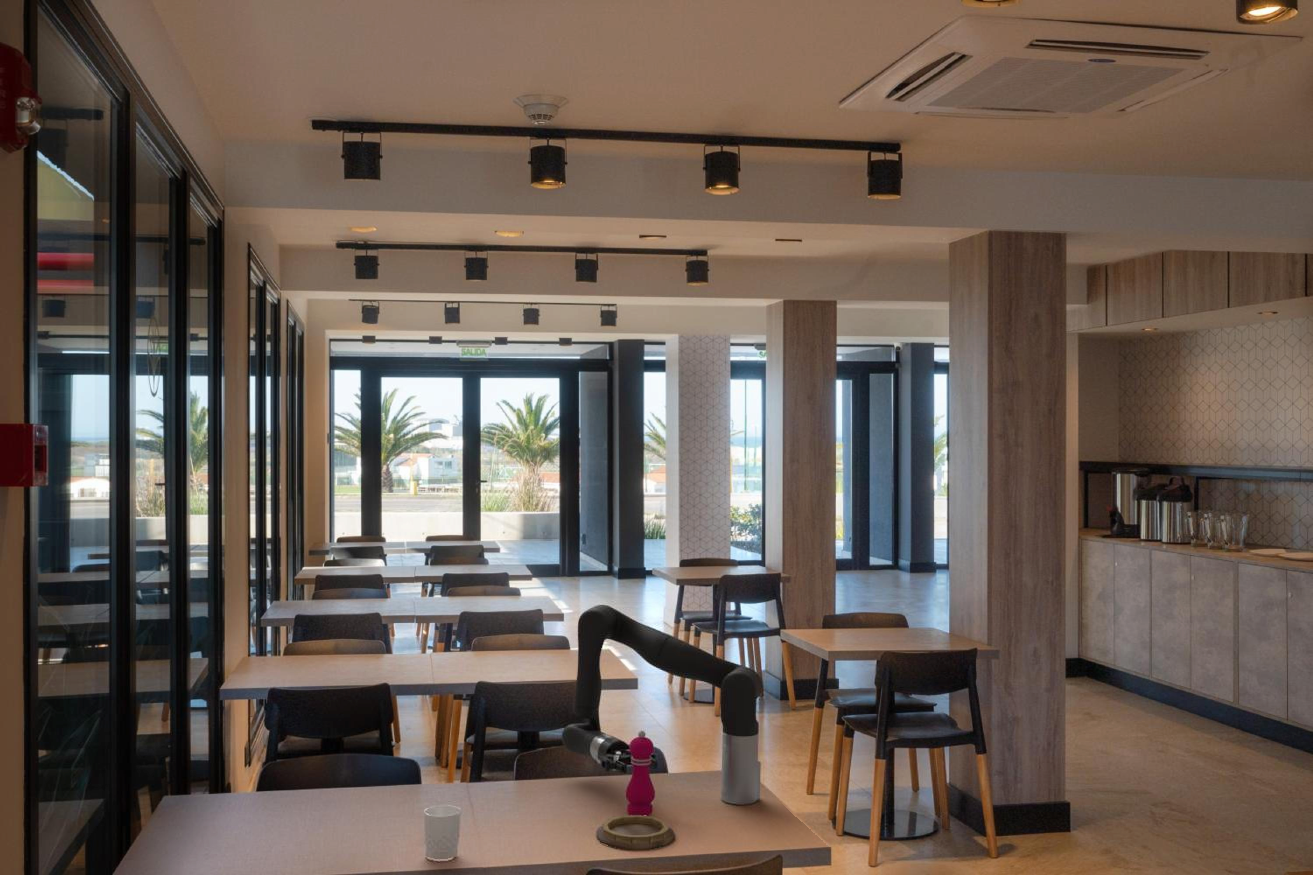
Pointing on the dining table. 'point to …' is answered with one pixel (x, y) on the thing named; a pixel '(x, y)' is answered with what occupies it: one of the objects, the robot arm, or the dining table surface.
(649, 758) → the pepper mill
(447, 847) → the white cup
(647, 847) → the tray
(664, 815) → the dining table surface
